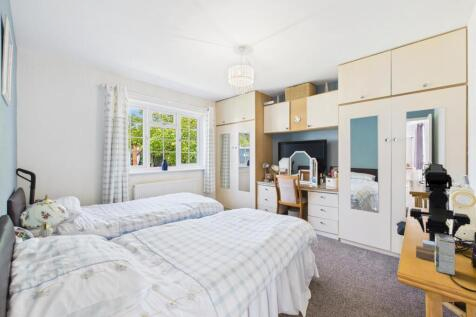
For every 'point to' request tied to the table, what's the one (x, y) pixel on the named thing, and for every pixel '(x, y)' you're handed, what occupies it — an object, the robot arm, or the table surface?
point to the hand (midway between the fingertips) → (437, 234)
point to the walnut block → (425, 253)
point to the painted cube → (429, 244)
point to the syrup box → (445, 254)
